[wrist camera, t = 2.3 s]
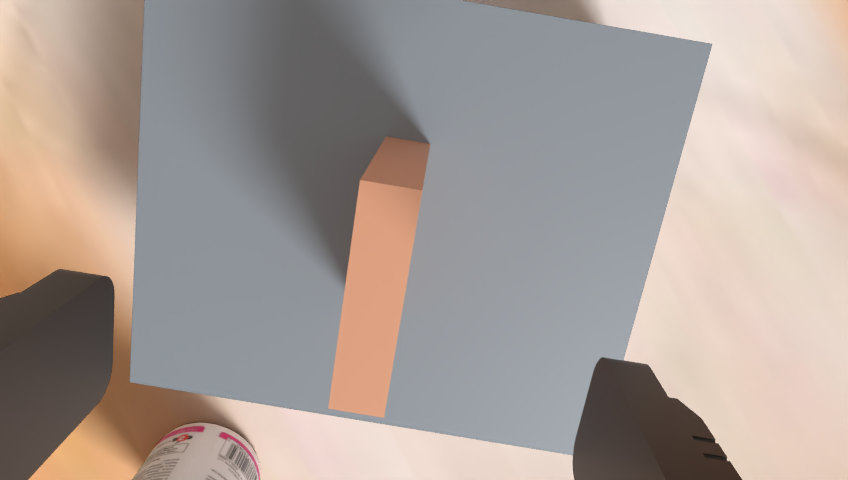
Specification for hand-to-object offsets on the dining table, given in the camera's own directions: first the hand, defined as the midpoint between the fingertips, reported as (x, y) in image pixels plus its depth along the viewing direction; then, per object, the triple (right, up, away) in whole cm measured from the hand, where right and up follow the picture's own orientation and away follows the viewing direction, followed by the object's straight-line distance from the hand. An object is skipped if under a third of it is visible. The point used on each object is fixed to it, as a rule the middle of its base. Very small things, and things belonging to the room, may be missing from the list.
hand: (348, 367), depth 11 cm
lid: (0, +3, +10) cm, 10 cm away
